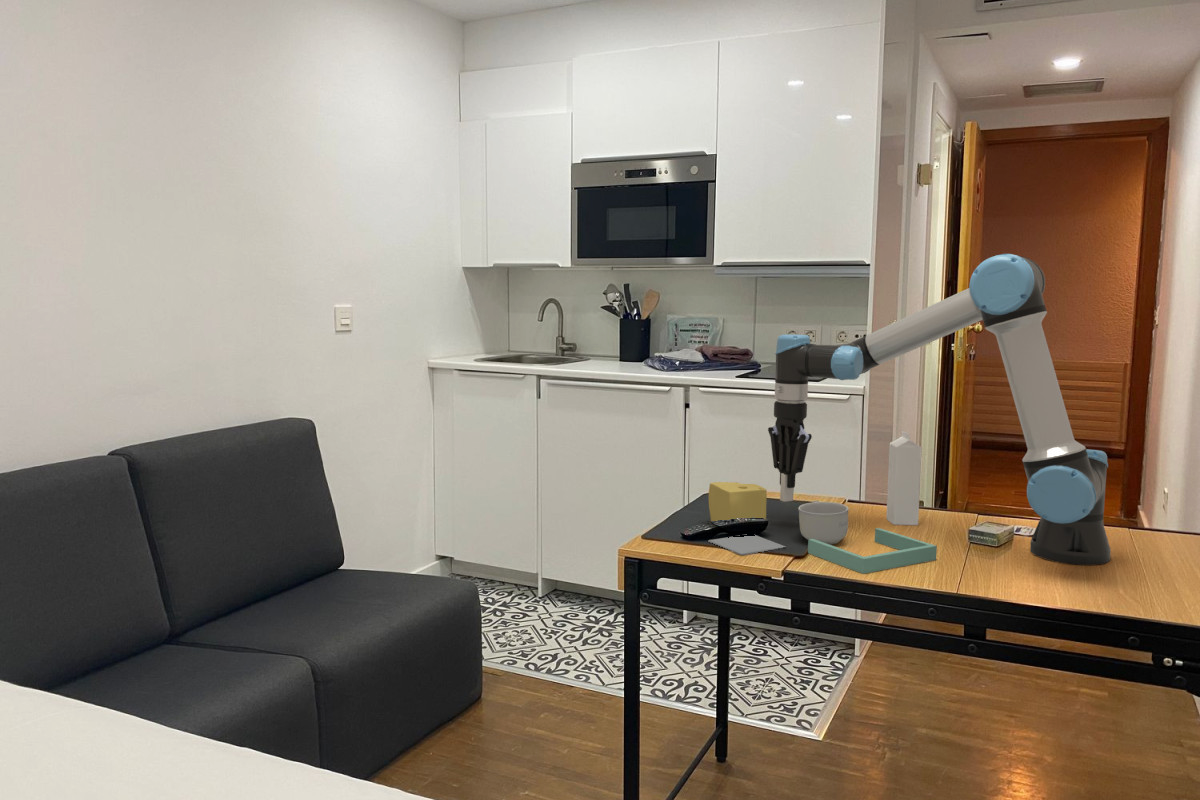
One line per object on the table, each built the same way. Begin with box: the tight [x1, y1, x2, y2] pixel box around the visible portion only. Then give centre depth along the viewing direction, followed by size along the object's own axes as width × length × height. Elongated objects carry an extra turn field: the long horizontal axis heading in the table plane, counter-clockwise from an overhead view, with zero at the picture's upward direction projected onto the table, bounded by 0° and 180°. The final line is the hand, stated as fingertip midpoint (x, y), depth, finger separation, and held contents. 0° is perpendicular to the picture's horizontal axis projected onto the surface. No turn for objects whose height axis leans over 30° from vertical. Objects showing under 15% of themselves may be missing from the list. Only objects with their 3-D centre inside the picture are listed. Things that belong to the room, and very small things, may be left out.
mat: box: [707, 534, 787, 556], centre depth 201 cm, size 12×12×1 cm
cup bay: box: [807, 527, 938, 575], centre depth 193 cm, size 16×20×3 cm
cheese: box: [708, 481, 768, 522], centre depth 217 cm, size 10×11×10 cm
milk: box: [886, 430, 923, 526], centre depth 221 cm, size 6×6×22 cm
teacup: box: [797, 500, 850, 545], centre depth 206 cm, size 14×11×8 cm
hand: (786, 500), depth 216 cm, fingers closed
